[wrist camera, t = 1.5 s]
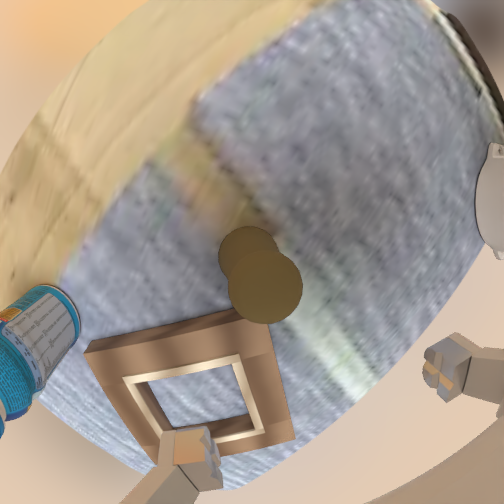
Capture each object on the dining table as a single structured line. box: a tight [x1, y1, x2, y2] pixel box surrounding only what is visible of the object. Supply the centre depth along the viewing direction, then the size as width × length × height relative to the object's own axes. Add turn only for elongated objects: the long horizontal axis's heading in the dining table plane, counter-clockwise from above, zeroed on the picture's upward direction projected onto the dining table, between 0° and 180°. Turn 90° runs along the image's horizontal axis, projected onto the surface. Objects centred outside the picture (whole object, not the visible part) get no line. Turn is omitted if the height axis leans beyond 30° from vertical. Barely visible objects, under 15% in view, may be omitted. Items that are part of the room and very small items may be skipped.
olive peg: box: [218, 227, 303, 324], centre depth 24 cm, size 6×6×11 cm
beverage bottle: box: [0, 285, 80, 438], centre depth 18 cm, size 8×8×20 cm
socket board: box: [83, 308, 296, 465], centre depth 31 cm, size 20×20×3 cm
